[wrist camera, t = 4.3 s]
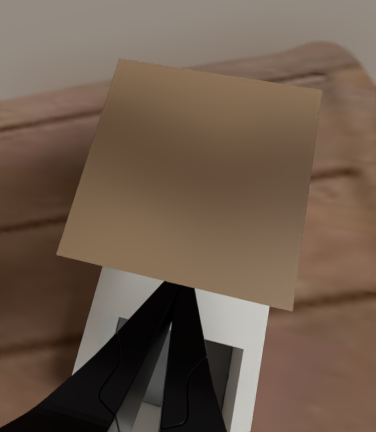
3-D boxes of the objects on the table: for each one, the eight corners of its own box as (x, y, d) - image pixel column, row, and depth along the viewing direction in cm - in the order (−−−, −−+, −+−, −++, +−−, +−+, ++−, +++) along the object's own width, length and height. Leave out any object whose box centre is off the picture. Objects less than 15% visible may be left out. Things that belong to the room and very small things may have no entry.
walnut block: (236, 280, 13) (292, 311, 5) (137, 257, 14) (55, 254, 6) (254, 183, 14) (322, 90, 6) (161, 165, 15) (118, 58, 7)
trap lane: (232, 444, 14) (240, 493, 11) (83, 400, 15) (54, 434, 12) (283, 130, 18) (300, 104, 15) (161, 109, 19) (155, 81, 16)
